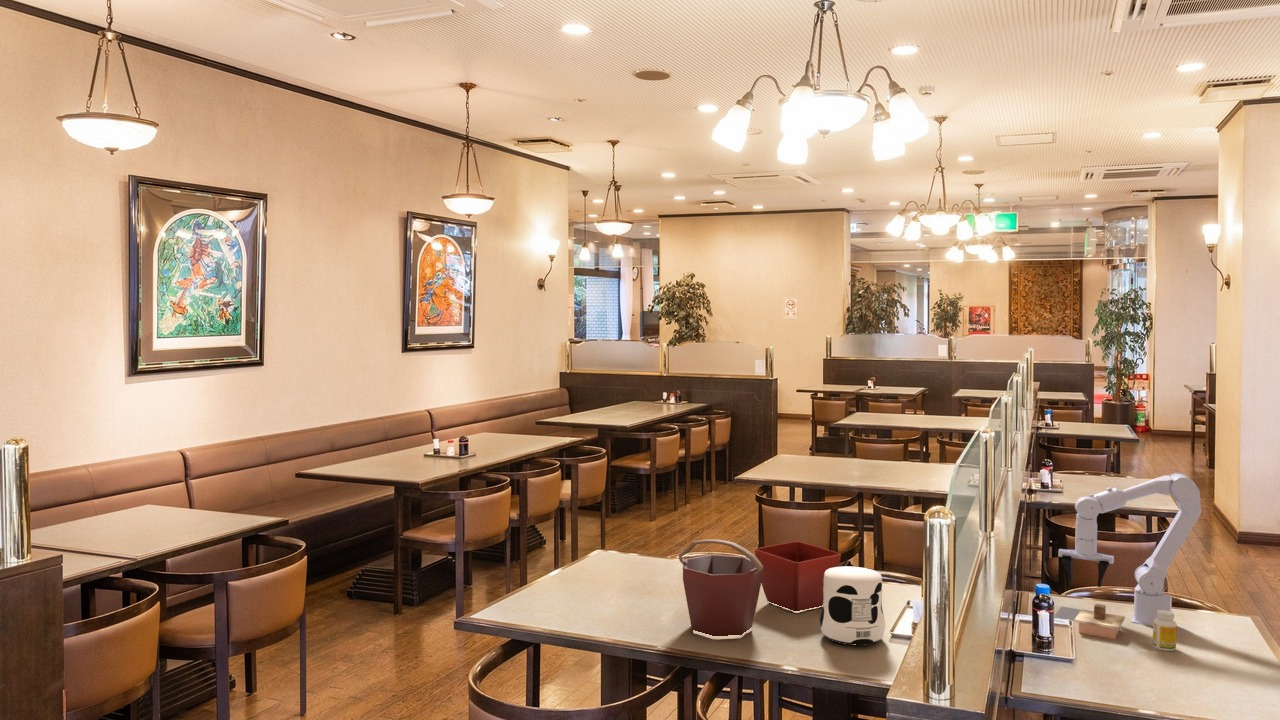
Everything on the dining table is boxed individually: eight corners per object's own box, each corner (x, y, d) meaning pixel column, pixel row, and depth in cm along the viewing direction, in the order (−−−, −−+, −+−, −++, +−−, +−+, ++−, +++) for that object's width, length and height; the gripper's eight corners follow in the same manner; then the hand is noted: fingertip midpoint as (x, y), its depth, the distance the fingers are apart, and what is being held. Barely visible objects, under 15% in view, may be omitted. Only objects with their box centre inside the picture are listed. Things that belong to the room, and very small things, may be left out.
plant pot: (842, 608, 272) (843, 553, 271) (796, 620, 261) (796, 562, 261) (797, 592, 288) (798, 540, 287) (752, 603, 277) (752, 548, 277)
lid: (1124, 618, 252) (1125, 604, 252) (1118, 629, 243) (1119, 614, 243) (1081, 611, 259) (1081, 597, 258) (1074, 621, 250) (1074, 607, 249)
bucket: (662, 628, 253) (662, 540, 252) (711, 610, 270) (711, 527, 269) (732, 650, 237) (732, 556, 236) (779, 629, 253) (780, 541, 252)
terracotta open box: (1119, 631, 252) (1120, 619, 252) (1114, 640, 245) (1115, 628, 244) (1084, 625, 257) (1084, 613, 257) (1078, 634, 250) (1078, 621, 250)
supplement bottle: (1148, 646, 240) (1148, 610, 240) (1161, 643, 243) (1161, 608, 242) (1167, 653, 236) (1168, 616, 235) (1180, 649, 238) (1181, 613, 238)
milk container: (842, 624, 258) (843, 561, 257) (897, 639, 245) (897, 574, 245) (807, 639, 246) (807, 573, 245) (862, 655, 233) (863, 586, 233)
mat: (1113, 616, 265) (1113, 615, 265) (1106, 627, 255) (1106, 626, 255) (1061, 607, 273) (1061, 606, 273) (1053, 618, 263) (1053, 616, 263)
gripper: (1056, 537, 266) (1055, 582, 266) (1111, 544, 257) (1110, 591, 258) (1061, 532, 271) (1060, 577, 272) (1115, 539, 263) (1114, 585, 264)
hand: (1085, 584), depth 265 cm, fingers open, 7 cm apart
